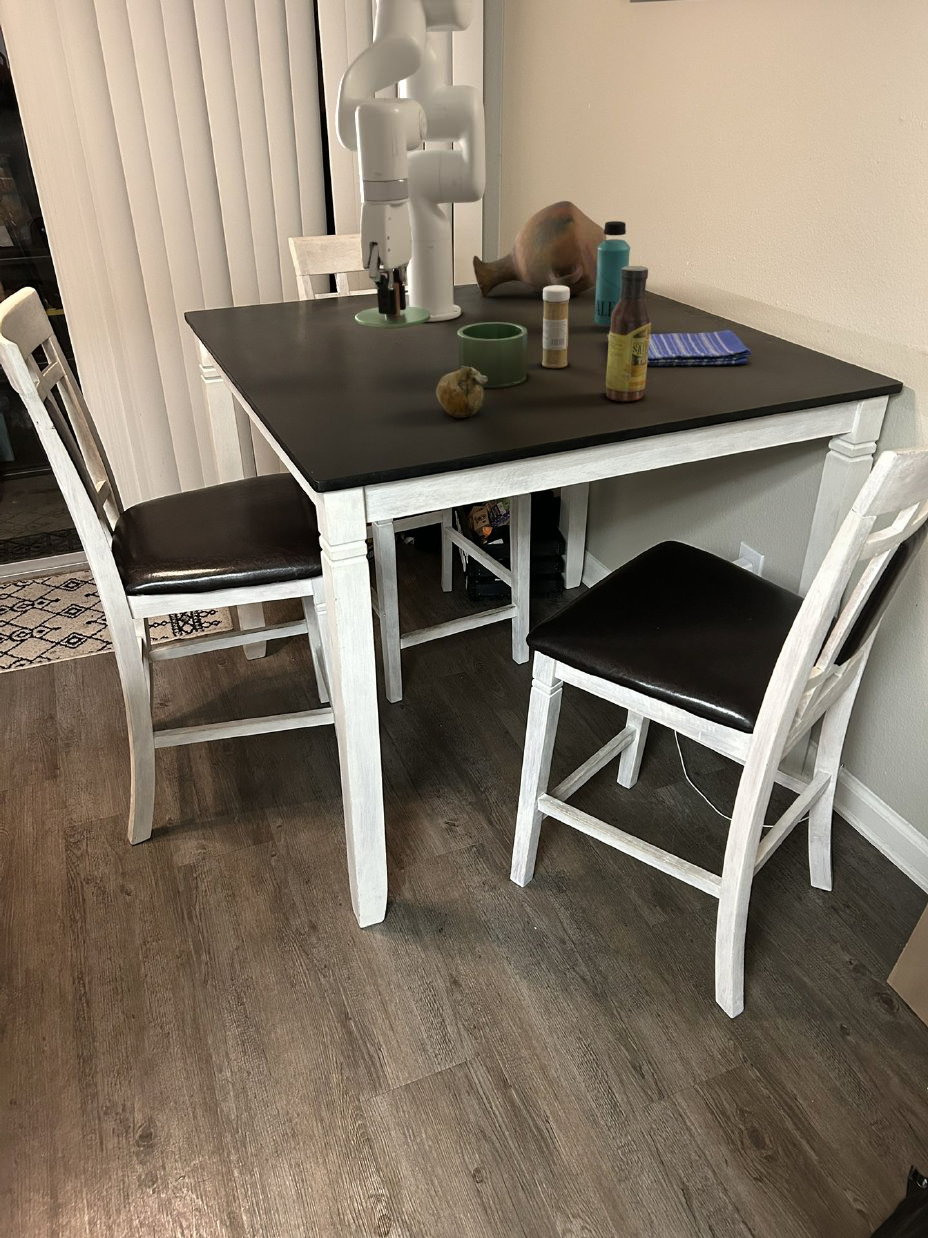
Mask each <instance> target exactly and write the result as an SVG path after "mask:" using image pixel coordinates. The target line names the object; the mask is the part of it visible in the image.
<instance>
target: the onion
mask: <svg viewBox="0 0 928 1238" xmlns="http://www.w3.org/2000/svg"><path fill="white" fill-rule="evenodd" d="M461 368H462V369H461V370H459V369H458V370H453V371H451V372H450V373H449V372H448V373H447V374H445V375H443V376H442V377H440V380H439V381H438V383H437V386H436V389H435V393H436V397H437V400H438V402H439V405H441V408H443V409H444V410H445V411H446V413H447V414H448V415H450V416H452V417H454V418H459V419H463V418H469V417H472V416H473V415H475V414H476V413H477V412H478V411H480V410H481V408H482V406H483V404H484V399H485V391H484V389H485V388H482V386H479V384H481V385H483V384H484V383H485V382H487V380H488V378H487V377H486V376H483V375H481V374H480V373H479V372H478V371H477V370H475V369H474V368H473V367H467V366H461ZM478 383H479V384H478Z"/></svg>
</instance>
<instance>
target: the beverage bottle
mask: <svg viewBox="0 0 928 1238" xmlns="http://www.w3.org/2000/svg"><path fill="white" fill-rule="evenodd" d="M626 225H627V224H626V222H624V221H619V220H612V221H610V220H609V221H606V222H605V223H604V228H603V229H604V234H605V235H606V236H623V235H626V234H627V230H626V229H627V228H626ZM630 253H631V246H630V244H629V243H628V242H627V241H626V240H624V239H616V238H612V239H611V238H610V239H606V240H604V241H603V242H602V243H601V244H600V245H599V246H598V260H597V264H596V265H597V267H596V272H597V274H596V276H597V277H596V281H595V290H594V293H595V297H594V305H593V312H594V314H593V320H594V322H595V323H596V324H599V325H603V326H611V316H612V312H613V310H614V308H615V306H616V305H617V304H618V302H619V300H620V298H621V297H620V293H621V283H622V279H621V268H623V267H626V266H630Z"/></svg>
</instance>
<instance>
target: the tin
mask: <svg viewBox="0 0 928 1238" xmlns="http://www.w3.org/2000/svg"><path fill="white" fill-rule="evenodd" d="M457 347H458V348H457V349H458V351H457V352H458V353H457V354H458V370H461V369H462V368H461V366H467V367H473V368H474V369H475V370H477V371H478V372H479V373H480V374H481V375H483V376H486V377H487V378H488V380H487V382H485V383H484V384H483V385H481V384H479V383H478V384H479V386H482V388H483V389H503V388H510V387H514V386H517V385H520V384H522V383H524V382H525V381H526V379H527V375H528V374H527V373H528V330H527V328H526V327H524V326H522V325H520V324H516V323H511V322H502V321H493V322H492V321H491V322H489V321H486V322H485V321H484V322H477V323H471V324H468V325H463V326H462V327H460V328H459V329H458V330H457Z"/></svg>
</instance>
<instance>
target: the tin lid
mask: <svg viewBox="0 0 928 1238" xmlns="http://www.w3.org/2000/svg"><path fill="white" fill-rule="evenodd" d="M393 289H396V301H397V314H395V315H389V314H380V313H379V310H378V307H373V308H368V309H364V310H362V311H359V312H358V313H356V315H355V317H354V318H355V319H354V320H355V322H356V323H357V324H358V325H361V326H363V327H364V326H365V327H369V328H377V329H386V330H387V329H389V330H391V329H402V328H409V327H412V326H416V325H417V326H418V325H421V324H424V323H426V321H428V320H429V319H430V312H429V311H427V310H425V309H422V308H418V307H410V306H406V309H405V310H400V297H399V283H396V282H393Z"/></svg>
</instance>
